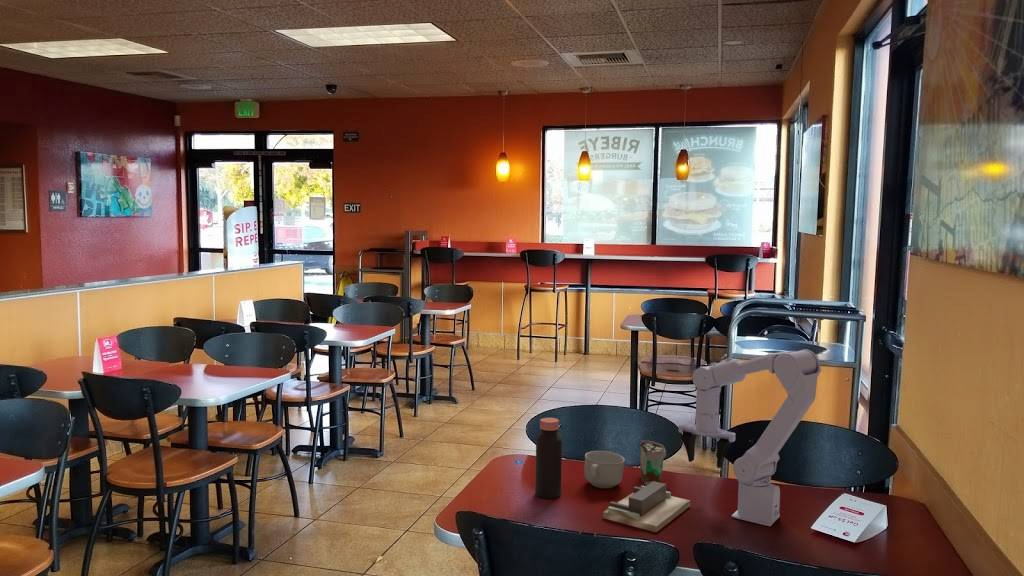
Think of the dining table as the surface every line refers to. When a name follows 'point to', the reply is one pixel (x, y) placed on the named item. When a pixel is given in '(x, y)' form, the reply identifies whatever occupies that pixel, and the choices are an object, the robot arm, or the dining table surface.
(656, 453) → the food container
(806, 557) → the dining table surface
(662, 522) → the display stand
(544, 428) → the bottle
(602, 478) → the teacup
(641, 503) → the grey boxy piece
